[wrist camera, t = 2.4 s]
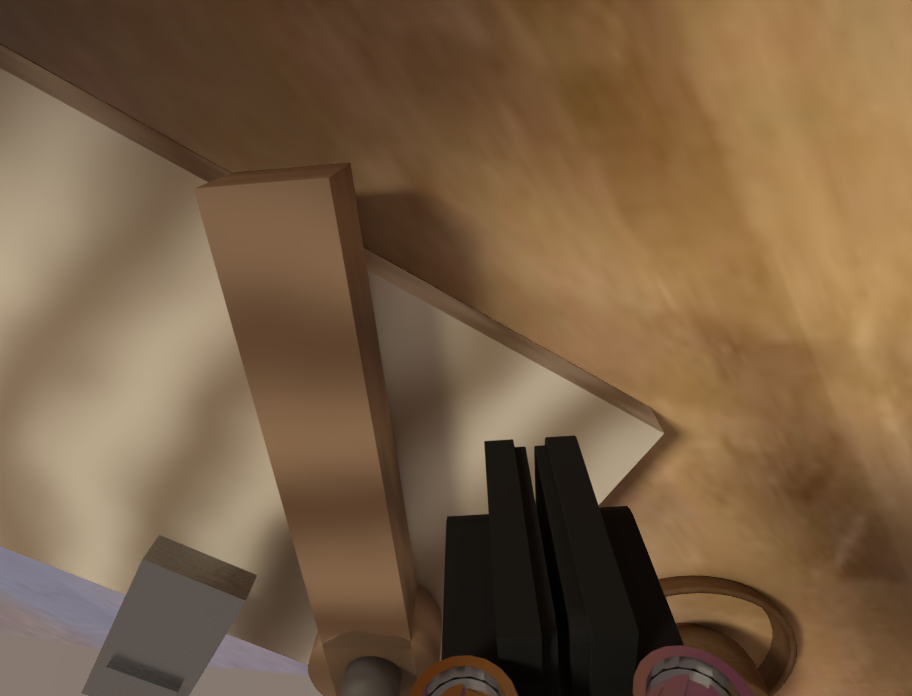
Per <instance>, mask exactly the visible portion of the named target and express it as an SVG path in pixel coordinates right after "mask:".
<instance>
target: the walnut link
mask: <svg viewBox="0 0 912 696" xmlns="http://www.w3.org/2000/svg"><path fill="white" fill-rule="evenodd" d="M193 189H194V193H195V196H196V200H197V203H198V207H199V210H200V214H201V217H202V221H203V225H204V228H205V232H206V235H207V239H208V242H209V246H210V249H211V253H212V257H213V260H214V264H215V267H216V271H217V274H218V278H219V281H220V285H221V288H222V292H223V296H224V299H225V303H226V306H227V310H228V313H229V317H230V320H231V324H232V328H233V331H234V335H235V338H236V342H237V345H238V349H239V352H240V356H241V359H242V363H243V367H244V370H245V374H246V377H247V381H248V384H249V388H250V391H251V395H252V398H253V402H254V406H255V409H256V413H257V416H258V420H259V423H260V427H261V430H262V434H263V438H264V441H265V445H266V448H267V452H268V455H269V459H270V462H271V466H272V469H273V473H274V477H275V480H276V484H277V487H278V491H279V494H280V498H281V501H282V505H283V508H284V512H285V516H286V519H287V523H288V526H289V530H290V533H291V537H292V540H293V544H294V548H295V551H296V555H297V558H298V562H299V565H300V569H301V572H302V576H303V579H304V583H305V587H306V590H307V594H308V597H309V601H310V604H311V608H312V611H313V615H314V619H315V622H316V626H317V629H318V631H317V635H316V638H315V642H314V645H313V649H312V652H311V656H310V659H309V664H308V672H309V676H310V679H311V681H312V683H313V684H314V686H315V687H316V689H317V690H318V691H319V692H320V693H321V694H322V695H323V696H409V695H410V692H411V690H412V687H413V685H414V684H415V683H416V681H417V680H418V679H419V678H420V676H421V675H422V674H423V672H424V671H426V670H427V669H429V668H430V667H431V666H433V665H434V664H435V663H437V662H439V661H440V648H441V632H442V614H441V610H440V608H439V605H438V604H437V602H436V601H435V599H434V598H433V597H432V596H431V595H430V594H429V593H428V592H427V591H426V590H424V589H423V588H421V587H420V586H418V585H417V580H416V574H415V568H414V561H413V555H412V549H411V543H410V536H409V530H408V524H407V517H406V511H405V505H404V498H403V492H402V486H401V480H400V473H399V467H398V461H397V454H396V448H395V442H394V435H393V429H392V423H391V417H390V410H389V404H388V398H387V391H386V385H385V379H384V372H383V366H382V360H381V354H380V347H379V341H378V335H377V328H376V322H375V316H374V310H373V303H372V297H371V291H370V284H369V278H368V272H367V265H366V259H365V253H364V247H363V240H362V234H361V228H360V221H359V215H358V209H357V202H356V196H355V190H354V184H353V177H352V171H351V165H350V163H343V164H331V165H319V166H307V167H295V168H283V169H271V170H259V171H247V172H235V173H232V174H229V175H227V176H224V177H221V178H219V179H216V180H214V181H211V182H209V183H206V184H204V185H201V186H199V187H196V188H193Z"/></svg>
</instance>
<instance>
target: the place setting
mask: <svg viewBox="0 0 912 696" xmlns="http://www.w3.org/2000/svg"><path fill="white" fill-rule="evenodd" d="M659 582H660V585H661V588H662V590H663V593H664V595H665V597H667V596H672V595H679V594H689V593H713V594H721V595H728V596H732V597H736V598H740V599H743V600H746V601H749V602H752V603H754V604H756V605H758V606H760V607H762V608H763V609H764V611H765V612H766V614H767V615H768V617H769V619H770V622H771V626H772V630H773V639H772V644H771V647H770V650H769V653H768V655H767V656H766V658H765V660H764V661H763V663H762V664H761V665H760V666H759V667H758V669H757V668H756V666H755V664H754V662H753V661H752V659H751V658H750V656H749V655H748V654H747V653H746V651H745V650H744V649H743V648H742V647H741V646H740V645H739V644H738V643H737V642H735V641H734V640H732V639H731V638H729V637H728V636H726V635H724V634H722V633H719V632H716V631H714V630H710V629H705V628H702V627H700V626H697V625H694V624H687V623H679V624H676V626H677V628H678V631H679V633H680V636H681V638H682V641H683V644H684V646H688V647H692V648H696V649H701V650H703V651H705V652H707V653H709V654H711V655H713V656H715V657H718V658H720V659H721V660H722V661H723V662H725V663H726V664H727V665H728V666H730V667H731V668H732V669H734V670H735V671H736V672H737V673H738V674H739V676H740V677H741V678H742V679H743V681H744V682H745V683H746V684H747V686H748V687H749V688H750V689H751V691H752V693H753V694H754V696H772V695H774V694H775V693H776V692H777V691H778V690H779V689H780V688H781V686H782V685H783V684H784V683H785V682H786V680H787V679H788V677H789V676H790V674H791V672H792V670H793V667H794V665H795V661H796V657H797V643H796V638H795V635H794V633H793V630H792V628H791V626H790V625H789V623H788V622H787V620H786V619H785V617H784V616H783V614H782V613H781V612H780V611H779V609H778V608H777V607H776V606H774V605H773V604H772V603H771V602H770V601H769V600H768V599H767V598H765V597H764V596H762V595H761V594H759V593H758V592H756V591H754V590H752V589H750V588H748V587H746V586H744V585H741V584H739V583H736V582H733V581H729V580H725V579H721V578H715V577H708V576H677V577H670V578H663V579H659Z"/></svg>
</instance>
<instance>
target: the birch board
mask: <svg viewBox="0 0 912 696" xmlns="http://www.w3.org/2000/svg"><path fill="white" fill-rule="evenodd" d="M229 174H231V173H229V172H227V171H226V170H224V169H222V168H220V167H219V166H217V165H215V164H213V163H211V162H210V161H208V160H206V159H204V158H202V157H201V156H199V155H197V154H195V153H193V152H192V151H190V150H188V149H186V148H185V147H183V146H181V145H179V144H177V143H176V142H174V141H172V140H170V139H168V138H167V137H165V136H163V135H161V134H159V133H158V132H156V131H154V130H152V129H151V128H149V127H147V126H145V125H143V124H142V123H140V122H138V121H136V120H134V119H133V118H131V117H129V116H127V115H125V114H124V113H122V112H120V111H118V110H117V109H115V108H113V107H111V106H109V105H108V104H106V103H104V102H102V101H100V100H99V99H97V98H95V97H93V96H91V95H90V94H88V93H86V92H84V91H82V90H81V89H79V88H77V87H75V86H74V85H72V84H70V83H68V82H66V81H65V80H63V79H61V78H59V77H57V76H56V75H54V74H52V73H50V72H48V71H47V70H45V69H43V68H41V67H40V66H38V65H36V64H34V63H32V62H31V61H29V60H27V59H25V58H23V57H22V56H20V55H18V54H16V53H14V52H13V51H11V50H9V49H7V48H6V47H4V46H2V45H0V546H1V547H4V548H6V549H9V550H12V551H14V552H17V553H19V554H22V555H25V556H27V557H30V558H32V559H35V560H37V561H40V562H43V563H45V564H48V565H50V566H53V567H56V568H58V569H61V570H63V571H66V572H69V573H71V574H74V575H76V576H79V577H81V578H84V579H87V580H89V581H92V582H94V583H97V584H100V585H102V586H105V587H107V588H110V589H113V590H115V591H118V592H120V593H123V594H125V595H126V594H127V592H128V590H129V587H130V585H131V583H132V581H133V578H134V576H135V574H136V572H137V570H138V567H139V565H140V563H141V561H142V559H143V557H144V556H145V555H146V553H147V552H148V550H149V549H150V547H151V546H152V544H153V543H154V542H155V540H156V539H157V537H158V536H159V535H161V536H164V537H166V538H168V539H171V540H173V541H176V542H178V543H181V544H183V545H185V546H188V547H190V548H193V549H195V550H198V551H200V552H202V553H205V554H207V555H210V556H212V557H215V558H217V559H219V560H222V561H224V562H227V563H229V564H231V565H234V566H236V567H239V568H241V569H244V570H246V571H248V572H251V573H253V574H256V575H257V577H256V579H255V581H254V584H253V586H252V588H251V591H250V593H249V595H248V597H247V600H246V602H245V603H244V605H243V607H242V608H241V610H240V612H239V613H238V615H237V617H236V618H235V620H234V622H233V623H232V625H231V627H230V628H229V630H228V632H227V633H226V634H229V635H232V636H234V637H237V638H239V639H242V640H245V641H247V642H250V643H252V644H255V645H257V646H260V647H263V648H265V649H268V650H270V651H273V652H276V653H278V654H281V655H283V656H286V657H289V658H291V659H294V660H296V661H299V662H301V663H304V664H307V665H308V664H309V659H310V656H311V652H312V649H313V645H314V642H315V638H316V635H317V631H318V629H317V626H316V622H315V619H314V615H313V611H312V608H311V604H310V601H309V597H308V594H307V590H306V587H305V583H304V579H303V576H302V572H301V569H300V565H299V562H298V558H297V555H296V551H295V548H294V544H293V540H292V537H291V533H290V530H289V526H288V523H287V519H286V516H285V512H284V508H283V505H282V501H281V498H280V494H279V491H278V487H277V484H276V480H275V477H274V473H273V469H272V466H271V462H270V459H269V455H268V452H267V448H266V445H265V441H264V438H263V434H262V430H261V427H260V423H259V420H258V416H257V413H256V409H255V406H254V402H253V398H252V395H251V391H250V388H249V384H248V381H247V377H246V374H245V370H244V367H243V363H242V359H241V356H240V352H239V349H238V345H237V342H236V338H235V335H234V331H233V328H232V324H231V320H230V317H229V313H228V310H227V306H226V303H225V299H224V296H223V292H222V288H221V285H220V281H219V278H218V274H217V271H216V267H215V264H214V260H213V257H212V253H211V249H210V246H209V242H208V239H207V235H206V232H205V228H204V225H203V221H202V217H201V214H200V210H199V207H198V203H197V200H196V196H195V193H194V189H193V188H196V187H199V186H201V185H204V184H206V183H209V182H211V181H214V180H216V179H219V178H221V177H224V176H227V175H229ZM364 253H365V259H366V265H367V272H368V278H369V284H370V291H371V297H372V303H373V310H374V316H375V322H376V328H377V335H378V341H379V347H380V354H381V360H382V366H383V372H384V379H385V385H386V391H387V398H388V404H389V410H390V417H391V423H392V429H393V435H394V442H395V448H396V454H397V461H398V467H399V473H400V480H401V486H402V492H403V498H404V505H405V511H406V517H407V524H408V530H409V536H410V543H411V549H412V555H413V561H414V568H415V574H416V580H417V585H418V586H420V587H421V588H423V589H424V590H426V591H427V592H428V593H429V594H430V595H431V596H432V597H433V598H434V599H435V601H436V602H437V604H438V605H439V608H440V610H441V614H442V630H443V600H444V571H445V542H446V520H447V516H463V515H481V514H489V511H488V495H487V479H486V463H485V447H484V441H494V440H510V439H513V441H514V447H526V452H527V457H528V463H529V469H530V475H531V480H532V486H533V492H534V498H535V464H534V446H541V445H545V438H546V437H557V436H573V435H575V436H576V438H577V440H578V443H579V446H580V449H581V453H582V456H583V459H584V462H585V465H586V468H587V471H588V474H589V478H590V481H591V484H592V487H593V490H594V493H595V496H596V499H597V503H598V505H599V504H600V503H601V502H602V501H603V500H604V499H605V498H606V496H607V495H608V494H609V493H610V492H611V491H612V490H613V489H614V488H615V487H616V486H617V485H618V483H619V482H620V481H621V480H622V479H623V478H624V477H625V476H626V475H627V474H628V473H629V471H630V470H631V469H632V468H633V467H634V466H635V465H636V464H637V463H638V462H639V461H640V459H641V458H642V457H643V456H644V455H645V454H646V453H647V452H648V451H649V450H650V449H651V447H652V446H653V445H654V444H655V443H656V442H657V441H658V440H659V439H660V438H661V437H662V435H663V434H664V432H663V430H662V428H661V426H660V425H659V423H658V421H657V419H656V417H655V415H654V413H653V411H652V409H651V408H650V407H648V406H646V405H645V404H643V403H641V402H639V401H637V400H636V399H634V398H632V397H630V396H628V395H627V394H625V393H623V392H621V391H620V390H618V389H616V388H614V387H612V386H611V385H609V384H607V383H605V382H603V381H602V380H600V379H598V378H596V377H594V376H593V375H591V374H589V373H587V372H586V371H584V370H582V369H580V368H578V367H577V366H575V365H573V364H571V363H569V362H568V361H566V360H564V359H562V358H560V357H559V356H557V355H555V354H553V353H552V352H550V351H548V350H546V349H544V348H543V347H541V346H539V345H537V344H535V343H534V342H532V341H530V340H528V339H526V338H525V337H523V336H521V335H519V334H518V333H516V332H514V331H512V330H510V329H509V328H507V327H505V326H503V325H501V324H500V323H498V322H496V321H494V320H492V319H491V318H489V317H487V316H485V315H483V314H482V313H480V312H478V311H476V310H475V309H473V308H471V307H469V306H467V305H466V304H464V303H462V302H460V301H458V300H457V299H455V298H453V297H451V296H449V295H448V294H446V293H444V292H442V291H441V290H439V289H437V288H435V287H433V286H432V285H430V284H428V283H426V282H424V281H423V280H421V279H419V278H417V277H415V276H414V275H412V274H410V273H408V272H407V271H405V270H403V269H401V268H399V267H398V266H396V265H394V264H392V263H390V262H389V261H387V260H385V259H383V258H381V257H380V256H378V255H376V254H374V253H372V252H371V251H369V250H367V249H365V248H364ZM535 503H536V502H535ZM441 659H442V632H441V648H440V661H441Z"/></svg>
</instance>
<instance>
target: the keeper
mask: <svg viewBox="0 0 912 696" xmlns="http://www.w3.org/2000/svg"><path fill="white" fill-rule="evenodd" d="M256 577H257V575H256V574H253V573H251V572H248V571H246V570H244V569H241V568H239V567H236V566H234V565H231V564H229V563H227V562H224V561H222V560H219V559H217V558H215V557H212V556H210V555H207V554H205V553H202V552H200V551H198V550H195V549H193V548H190V547H188V546H185V545H183V544H181V543H178V542H176V541H173V540H171V539H168V538H166V537H164V536H161V535H159V536H158V537H157V539H156V540H155V542H154V543H153V544H152V546H151V547H150V549H149V550H148V552H147V553H146V555H145V556H144V557H143V559H142V561H141V563H140V565H139V567H138V570H137V572H136V574H135V576H134V578H133V581H132V583H131V585H130V587H129V590H128V592H127V594H126V596H125V598H124V601H123V603H122V605H121V607H120V609H119V612H118V614H117V616H116V618H115V620H114V623H113V625H112V627H111V629H110V631H109V634H108V636H107V638H106V640H105V642H104V645H103V647H102V649H101V651H100V653H99V656H98V658H97V660H96V662H95V664H94V667H93V669H92V671H91V673H90V675H89V678H88V680H87V682H86V684H85V686H84V689H83V691H82V693H83V694H86V695H89V696H189V695H190V693H191V691H192V690H193V688H194V686H195V685H196V683H197V682H198V680H199V678H200V676H201V675H202V673H203V672H204V670H205V668H206V667H207V665H208V663H209V662H210V660H211V658H212V657H213V655H214V653H215V652H216V650H217V648H218V647H219V645H220V643H221V642H222V640H223V638H224V637H225V635H226V633H227V632H228V630H229V628H230V627H231V625H232V623H233V622H234V620H235V618H236V617H237V615H238V613H239V612H240V610H241V608H242V607H243V605H244V603H245V602H246V600H247V597H248V595H249V593H250V591H251V588H252V586H253V584H254V581H255V579H256Z"/></svg>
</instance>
